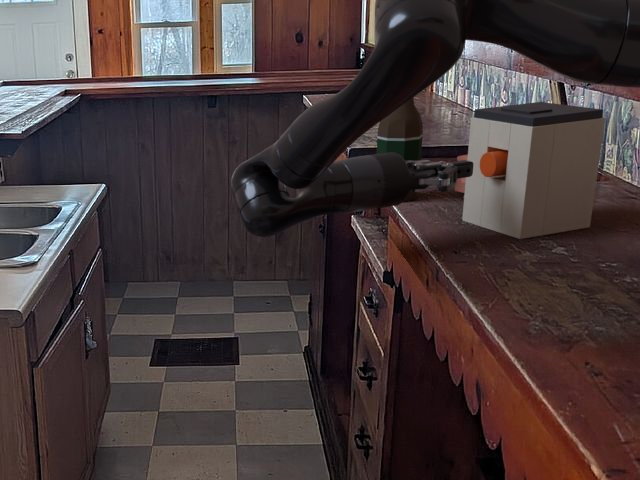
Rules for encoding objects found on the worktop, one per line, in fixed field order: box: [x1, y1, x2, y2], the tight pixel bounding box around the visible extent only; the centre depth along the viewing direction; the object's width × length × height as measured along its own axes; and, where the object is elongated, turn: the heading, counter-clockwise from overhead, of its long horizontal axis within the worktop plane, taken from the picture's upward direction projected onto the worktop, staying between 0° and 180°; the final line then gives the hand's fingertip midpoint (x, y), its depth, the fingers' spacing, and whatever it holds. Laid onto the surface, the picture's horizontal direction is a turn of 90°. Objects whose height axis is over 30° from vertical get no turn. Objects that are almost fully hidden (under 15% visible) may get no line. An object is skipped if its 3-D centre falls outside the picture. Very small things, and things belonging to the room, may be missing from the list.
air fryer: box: [461, 101, 606, 240], centre depth 130 cm, size 13×13×18 cm
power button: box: [480, 150, 508, 177], centre depth 128 cm, size 4×4×4 cm
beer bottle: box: [376, 97, 424, 203], centre depth 149 cm, size 8×8×24 cm
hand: (469, 168), depth 126 cm, fingers closed
